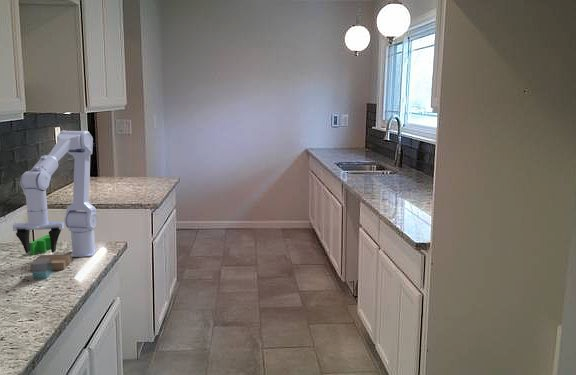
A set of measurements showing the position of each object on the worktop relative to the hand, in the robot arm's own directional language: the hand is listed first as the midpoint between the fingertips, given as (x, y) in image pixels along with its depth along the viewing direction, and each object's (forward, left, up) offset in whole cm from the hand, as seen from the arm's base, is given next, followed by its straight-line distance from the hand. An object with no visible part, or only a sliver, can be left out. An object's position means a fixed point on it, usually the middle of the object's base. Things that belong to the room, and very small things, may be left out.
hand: (40, 251), depth 166 cm
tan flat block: (-10, 0, -8) cm, 12 cm away
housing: (0, 0, -8) cm, 8 cm away
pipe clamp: (-28, -8, -8) cm, 31 cm away
